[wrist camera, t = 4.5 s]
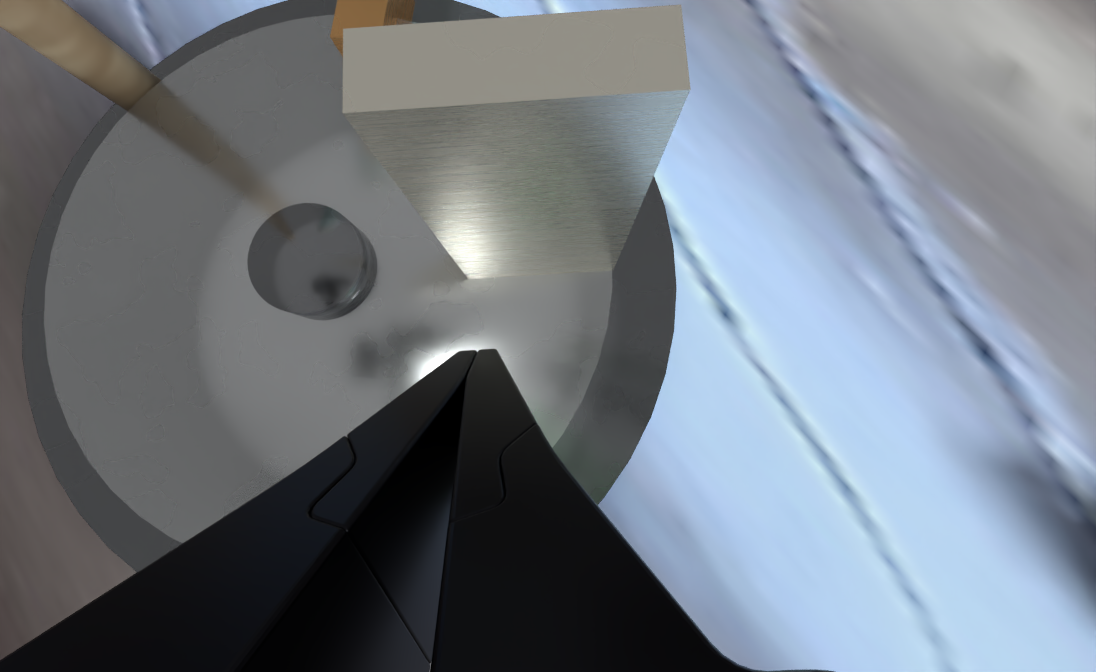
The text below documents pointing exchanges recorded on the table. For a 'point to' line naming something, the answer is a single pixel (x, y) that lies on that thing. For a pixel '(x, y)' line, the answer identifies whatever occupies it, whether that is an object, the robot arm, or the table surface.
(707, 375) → the table surface
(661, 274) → the grey round disc
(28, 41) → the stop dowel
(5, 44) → the table surface
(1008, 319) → the table surface
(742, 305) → the table surface
